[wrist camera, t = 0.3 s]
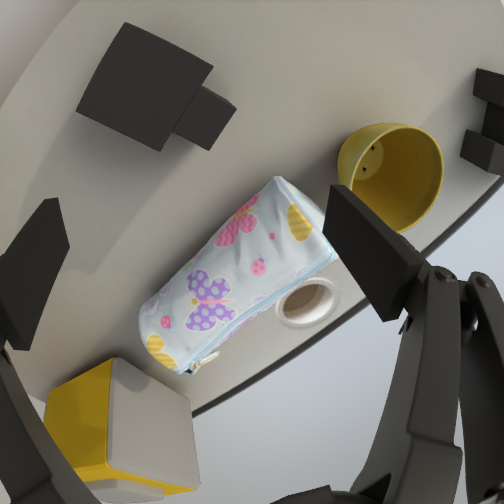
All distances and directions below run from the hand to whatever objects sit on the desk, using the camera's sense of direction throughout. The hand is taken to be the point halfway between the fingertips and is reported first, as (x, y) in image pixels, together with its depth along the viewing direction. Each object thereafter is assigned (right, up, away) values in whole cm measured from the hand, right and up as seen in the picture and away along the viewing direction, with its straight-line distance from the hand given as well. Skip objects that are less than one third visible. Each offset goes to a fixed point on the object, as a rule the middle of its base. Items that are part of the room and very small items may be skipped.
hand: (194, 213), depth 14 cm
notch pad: (+35, +15, +15) cm, 41 cm away
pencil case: (0, -2, +18) cm, 18 cm away
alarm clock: (-19, -23, +29) cm, 41 cm away
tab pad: (-4, +11, +8) cm, 14 cm away
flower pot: (+13, +8, +15) cm, 22 cm away
